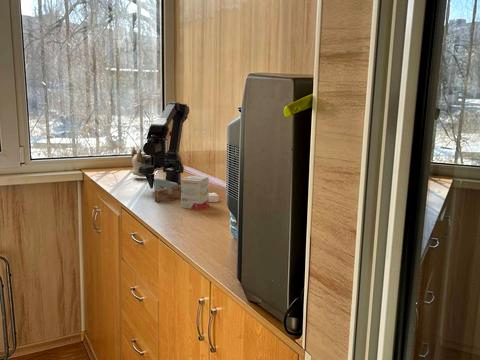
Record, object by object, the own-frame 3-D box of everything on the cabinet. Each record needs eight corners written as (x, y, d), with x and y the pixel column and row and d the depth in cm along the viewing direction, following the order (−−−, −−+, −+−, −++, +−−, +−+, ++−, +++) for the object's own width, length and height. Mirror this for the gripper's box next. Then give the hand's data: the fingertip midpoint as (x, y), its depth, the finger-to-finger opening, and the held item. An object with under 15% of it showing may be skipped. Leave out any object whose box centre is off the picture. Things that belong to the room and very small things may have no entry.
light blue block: (158, 189, 219) (158, 178, 218) (177, 194, 211) (177, 183, 210) (154, 190, 217) (153, 179, 216) (173, 195, 209) (173, 184, 208)
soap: (197, 203, 198) (197, 196, 197) (194, 200, 203) (194, 193, 203) (219, 202, 201) (219, 195, 200) (215, 199, 206) (215, 192, 205)
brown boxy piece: (180, 196, 208) (180, 184, 207) (184, 197, 206) (184, 185, 205) (154, 202, 197) (154, 190, 196) (158, 203, 196) (158, 191, 195)
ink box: (209, 205, 195) (209, 176, 192) (200, 210, 187) (200, 180, 184) (189, 203, 197) (189, 174, 195) (180, 208, 189) (180, 178, 187)
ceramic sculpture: (153, 178, 241) (152, 148, 238) (136, 180, 236) (136, 149, 233) (144, 174, 249) (144, 145, 246) (128, 176, 245) (127, 146, 241)
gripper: (163, 147, 225) (164, 180, 228) (130, 152, 211) (131, 187, 215) (180, 150, 218) (180, 184, 221) (146, 155, 204) (147, 191, 207)
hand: (159, 186), depth 216 cm, fingers open, 9 cm apart
